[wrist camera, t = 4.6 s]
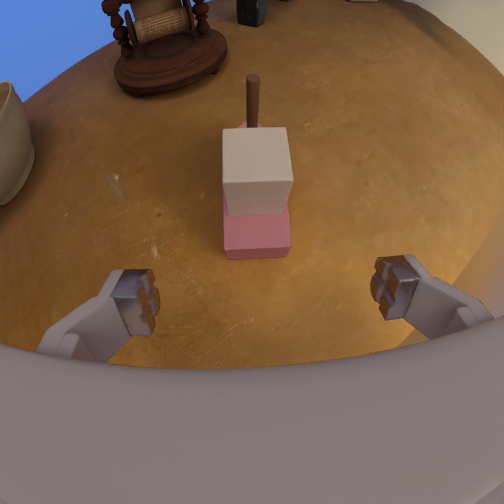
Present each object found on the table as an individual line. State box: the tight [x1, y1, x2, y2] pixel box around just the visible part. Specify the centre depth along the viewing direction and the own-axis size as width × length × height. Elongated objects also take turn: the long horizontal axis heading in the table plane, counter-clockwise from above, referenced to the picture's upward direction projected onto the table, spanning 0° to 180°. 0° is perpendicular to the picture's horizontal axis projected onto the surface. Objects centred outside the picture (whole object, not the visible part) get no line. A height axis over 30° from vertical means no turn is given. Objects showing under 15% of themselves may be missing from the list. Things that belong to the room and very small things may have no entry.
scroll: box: [101, 0, 227, 98], centre depth 19 cm, size 15×15×20 cm
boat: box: [222, 74, 293, 260], centre depth 19 cm, size 12×5×11 cm, turn 3°
